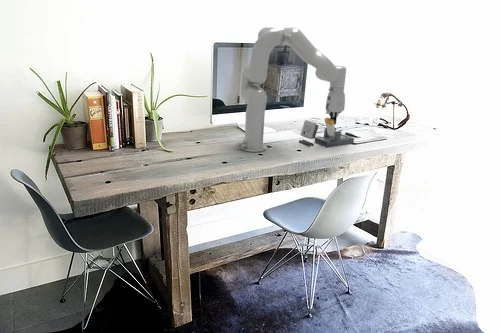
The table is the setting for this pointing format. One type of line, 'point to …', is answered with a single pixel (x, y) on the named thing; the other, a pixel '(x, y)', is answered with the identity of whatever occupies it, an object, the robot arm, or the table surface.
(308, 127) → the electrical switch
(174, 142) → the table surface
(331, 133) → the breaker lever
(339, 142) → the double window frame
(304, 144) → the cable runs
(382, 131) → the table surface
